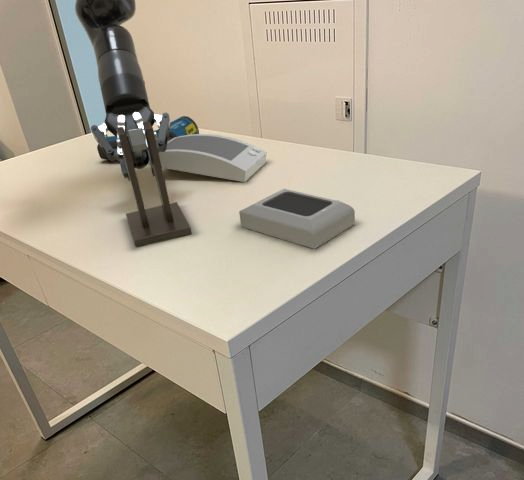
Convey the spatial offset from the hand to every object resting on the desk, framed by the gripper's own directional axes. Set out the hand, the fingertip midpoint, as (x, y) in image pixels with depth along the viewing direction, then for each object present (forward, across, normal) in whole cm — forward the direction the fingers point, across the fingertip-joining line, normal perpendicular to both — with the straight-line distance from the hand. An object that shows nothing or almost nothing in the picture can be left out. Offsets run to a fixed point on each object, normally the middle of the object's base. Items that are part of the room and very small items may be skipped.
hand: (142, 175), depth 92 cm
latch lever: (0, 0, -4) cm, 4 cm away
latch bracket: (+9, +1, 0) cm, 9 cm away
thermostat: (-8, +13, +16) cm, 22 cm away
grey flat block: (+17, +22, -6) cm, 28 cm away
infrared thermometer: (-22, +2, +29) cm, 36 cm away
